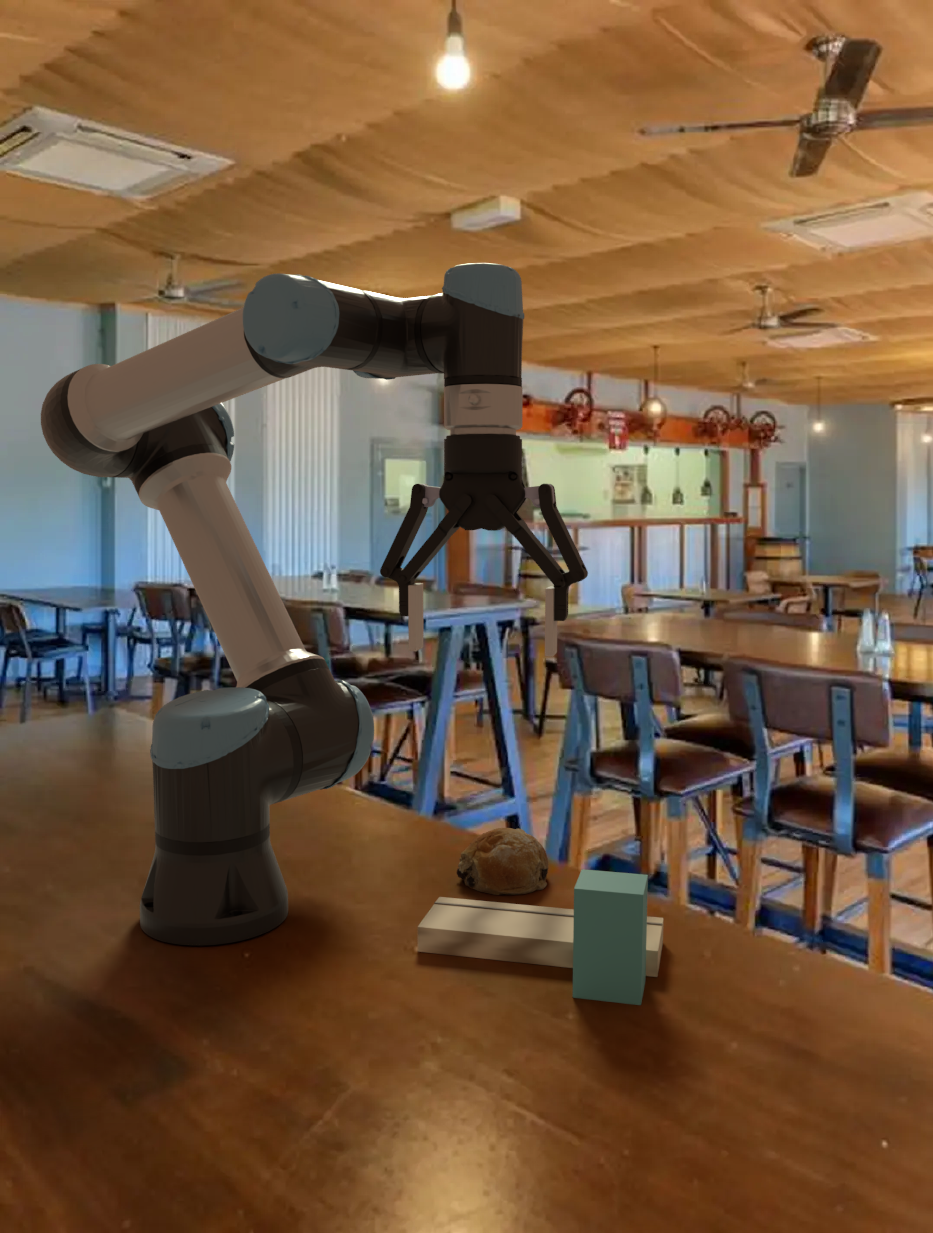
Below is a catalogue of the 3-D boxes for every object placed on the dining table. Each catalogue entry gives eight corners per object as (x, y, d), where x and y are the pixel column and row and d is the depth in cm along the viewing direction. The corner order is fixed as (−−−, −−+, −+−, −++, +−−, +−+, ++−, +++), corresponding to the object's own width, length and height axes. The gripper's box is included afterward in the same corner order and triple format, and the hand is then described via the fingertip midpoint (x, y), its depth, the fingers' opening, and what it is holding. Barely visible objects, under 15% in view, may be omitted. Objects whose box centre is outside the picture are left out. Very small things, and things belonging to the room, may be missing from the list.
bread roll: (524, 931, 119) (556, 870, 117) (442, 886, 120) (472, 825, 119) (536, 897, 129) (566, 841, 127) (460, 857, 130) (488, 800, 128)
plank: (417, 951, 105) (417, 925, 105) (439, 919, 113) (439, 895, 112) (657, 976, 99) (657, 949, 99) (662, 941, 107) (663, 916, 107)
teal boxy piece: (572, 997, 96) (574, 888, 94) (591, 938, 108) (592, 841, 107) (640, 1005, 94) (643, 894, 93) (651, 944, 107) (654, 846, 106)
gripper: (346, 432, 103) (349, 652, 106) (608, 429, 97) (605, 662, 100) (372, 436, 110) (374, 642, 113) (617, 433, 104) (613, 651, 107)
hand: (482, 652), depth 106 cm, fingers open, 13 cm apart
